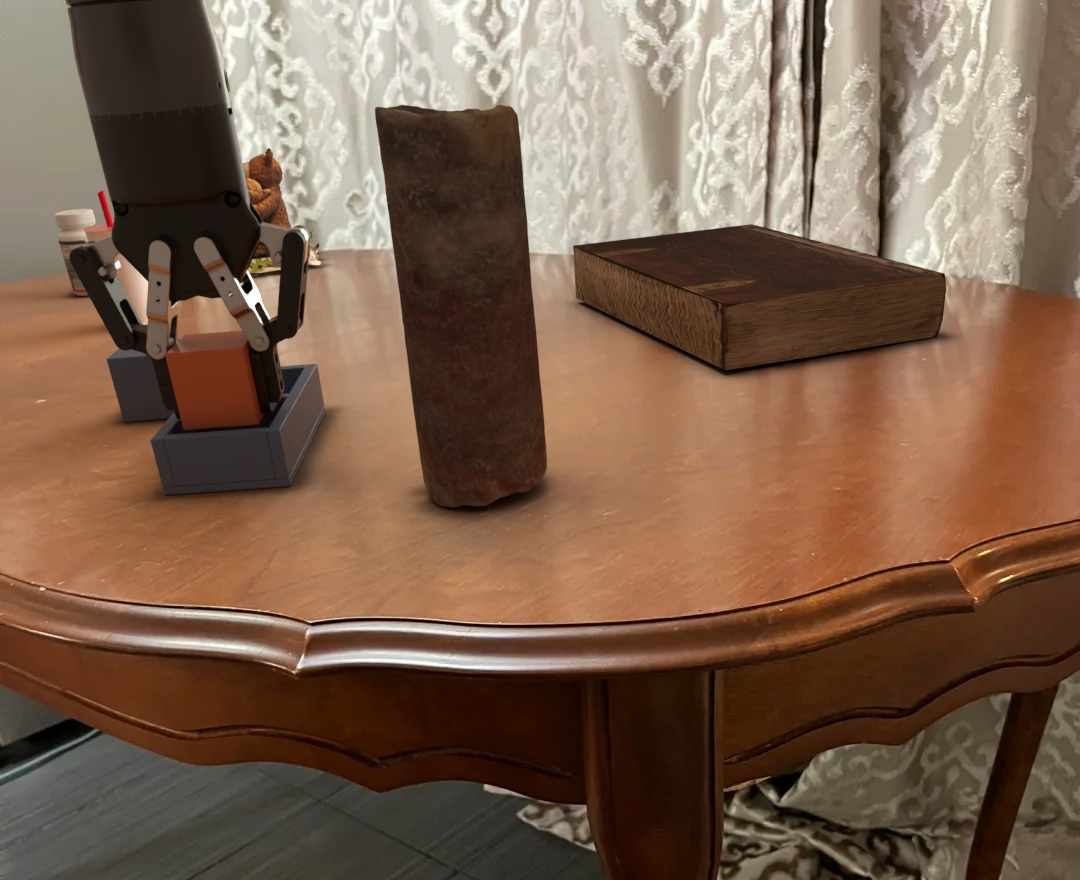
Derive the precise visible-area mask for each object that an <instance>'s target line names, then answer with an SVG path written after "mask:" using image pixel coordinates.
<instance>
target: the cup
mask: <svg viewBox="0 0 1080 880" xmlns="http://www.w3.org/2000/svg"><path fill="white" fill-rule="evenodd" d="M97 196H98V200H99V203H100V207H101V210H102V213H103V217H104V220H105V223H100V224H94V225H95V226H90V227H87V228H85V229H83V231H85V233H86V236H87V239H88V242H89V241H95V242H98V241H100V240H102V239H105V238H107V237H110V236H112V227H113V224H114V220H113V217H112V214H111V211H110V207H109V204H108V200H107V197H106V193H105V191H104V190H100V191H99V192H98V193H97ZM119 262H120V265H121V273H120V274H119V275H118V278H119V280H120V282H121V284H122V286H123V288H124V289H125V291H126V293H127V295H128V297H129V299H130V301H131V303H132V305H133V306H134V308H135V310H136V312H137V314H138V316H139V318H140V320H141V322H142V324H143V325H145V326H148V318H147V315H146V308H147V293H148V281H147V280H146V279H145V278H144V277H143V276H142V275H141V274H140V273H139V272H138V271H137V270H136V269H135V268H134V267H133V266H132V265H131V264H130V263H129V262H128V261H127V260H126V259H125V258H124V257H123V256H122V255H121V254H120V255H119Z"/></svg>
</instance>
